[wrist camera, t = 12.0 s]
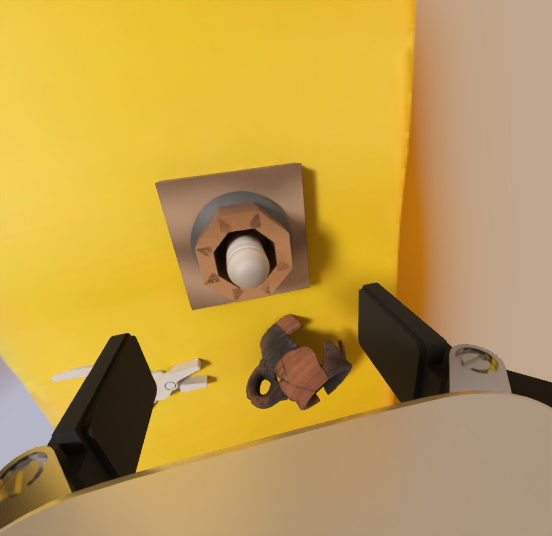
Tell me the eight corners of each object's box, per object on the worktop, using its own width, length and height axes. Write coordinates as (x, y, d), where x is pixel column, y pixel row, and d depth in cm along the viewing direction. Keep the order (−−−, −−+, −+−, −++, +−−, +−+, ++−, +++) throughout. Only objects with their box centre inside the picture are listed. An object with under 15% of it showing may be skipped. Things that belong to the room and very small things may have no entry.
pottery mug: (308, 293, 31) (361, 348, 26) (314, 327, 38) (356, 375, 33) (219, 357, 28) (259, 431, 23) (244, 380, 36) (278, 440, 31)
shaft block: (160, 181, 23) (122, 197, 14) (295, 162, 24) (334, 167, 16) (193, 299, 28) (181, 365, 19) (304, 279, 29) (338, 331, 21)
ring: (193, 210, 22) (187, 221, 18) (276, 198, 23) (286, 206, 19) (211, 284, 25) (209, 307, 21) (284, 271, 26) (294, 290, 22)
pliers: (43, 383, 27) (189, 343, 28) (52, 372, 29) (191, 334, 30) (90, 442, 31) (216, 405, 32) (96, 429, 33) (216, 394, 34)
